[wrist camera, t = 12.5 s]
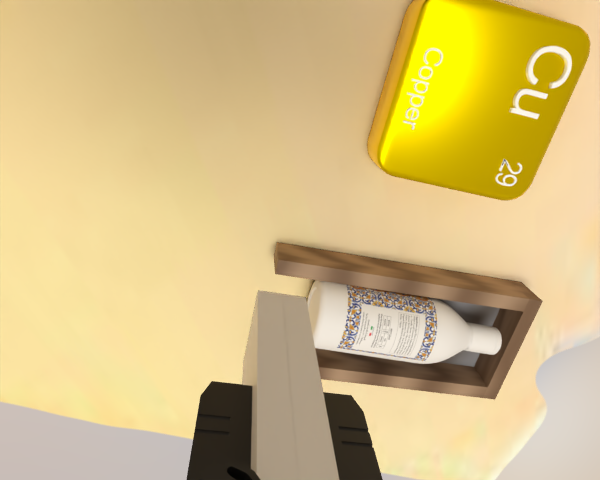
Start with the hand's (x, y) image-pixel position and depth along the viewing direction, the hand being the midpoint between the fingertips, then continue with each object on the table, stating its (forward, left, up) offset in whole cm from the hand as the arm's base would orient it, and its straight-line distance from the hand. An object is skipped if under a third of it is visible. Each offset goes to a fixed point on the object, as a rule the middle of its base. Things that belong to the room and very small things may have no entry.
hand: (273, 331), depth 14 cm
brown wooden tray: (+17, -16, -29) cm, 37 cm away
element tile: (+17, +7, -30) cm, 35 cm away
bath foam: (+7, -14, -25) cm, 30 cm away
